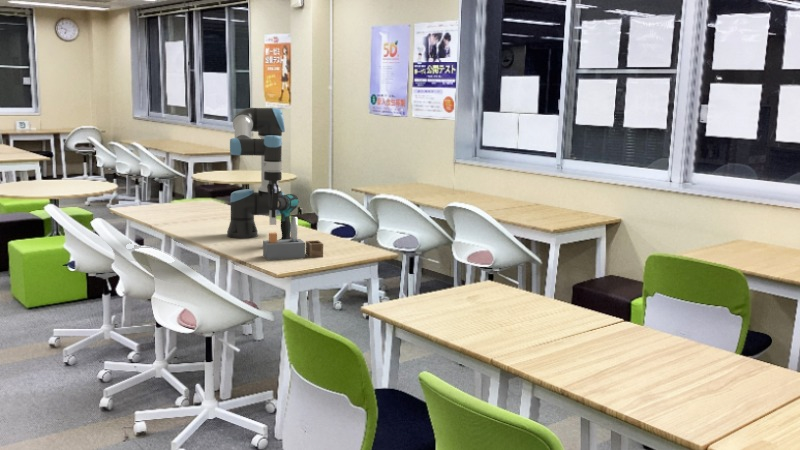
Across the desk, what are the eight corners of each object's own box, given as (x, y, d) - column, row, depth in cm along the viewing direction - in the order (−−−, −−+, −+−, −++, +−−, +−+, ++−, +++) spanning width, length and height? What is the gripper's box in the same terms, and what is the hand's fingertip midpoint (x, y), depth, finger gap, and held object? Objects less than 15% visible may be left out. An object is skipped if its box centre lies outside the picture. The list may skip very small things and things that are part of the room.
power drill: (282, 253, 330) (282, 199, 325) (263, 251, 332) (263, 197, 327) (301, 242, 355) (301, 191, 351) (284, 240, 357) (284, 190, 352)
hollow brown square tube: (305, 253, 330) (305, 240, 329) (318, 253, 332) (318, 240, 331) (310, 257, 322) (310, 244, 321) (323, 256, 325) (323, 243, 324)
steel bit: (289, 255, 325) (289, 216, 321) (296, 255, 326) (296, 216, 322) (291, 257, 322) (291, 217, 319) (297, 257, 323) (298, 217, 320)
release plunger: (268, 250, 320) (268, 232, 319) (275, 250, 322) (275, 232, 320) (270, 251, 318) (270, 234, 316) (276, 251, 319) (276, 233, 317)
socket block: (263, 255, 323) (263, 240, 322) (300, 253, 329) (300, 238, 328) (267, 260, 315) (267, 244, 314) (305, 258, 321) (305, 242, 320)
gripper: (261, 169, 318) (261, 222, 322) (267, 172, 306) (267, 227, 310) (278, 169, 321) (278, 221, 325) (284, 172, 309) (284, 226, 313)
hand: (272, 224), depth 317 cm, fingers closed
